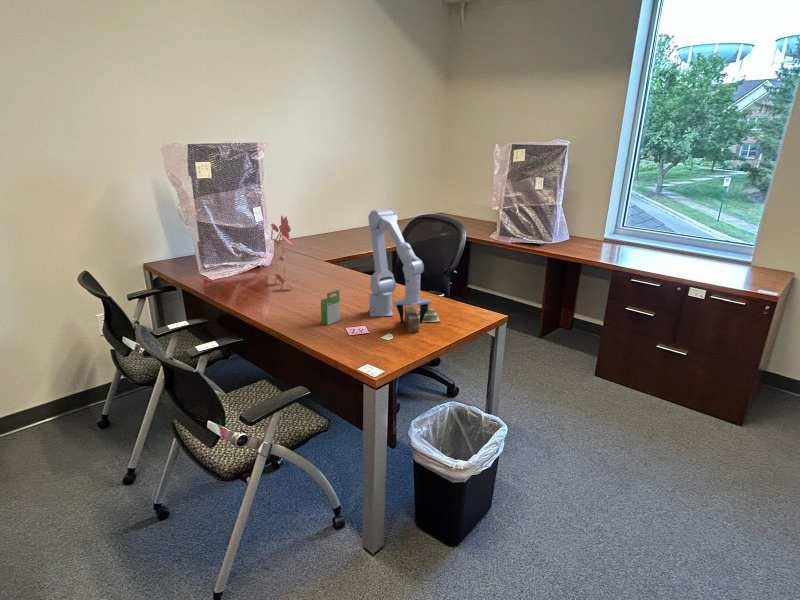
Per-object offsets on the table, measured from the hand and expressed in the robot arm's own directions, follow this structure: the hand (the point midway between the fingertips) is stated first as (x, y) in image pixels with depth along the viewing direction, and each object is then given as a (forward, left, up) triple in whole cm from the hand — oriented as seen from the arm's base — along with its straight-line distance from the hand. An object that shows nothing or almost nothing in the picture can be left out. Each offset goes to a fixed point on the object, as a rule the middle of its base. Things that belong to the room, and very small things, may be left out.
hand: (411, 322), depth 191 cm
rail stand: (+8, +8, -2) cm, 11 cm away
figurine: (-52, +55, -2) cm, 76 cm away
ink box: (-32, +7, -2) cm, 33 cm away
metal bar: (0, 0, -2) cm, 2 cm away
